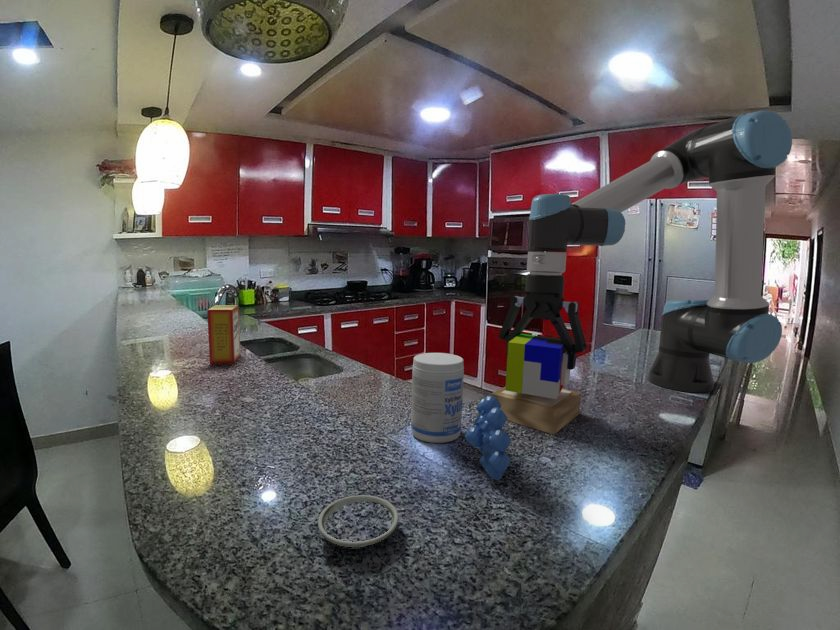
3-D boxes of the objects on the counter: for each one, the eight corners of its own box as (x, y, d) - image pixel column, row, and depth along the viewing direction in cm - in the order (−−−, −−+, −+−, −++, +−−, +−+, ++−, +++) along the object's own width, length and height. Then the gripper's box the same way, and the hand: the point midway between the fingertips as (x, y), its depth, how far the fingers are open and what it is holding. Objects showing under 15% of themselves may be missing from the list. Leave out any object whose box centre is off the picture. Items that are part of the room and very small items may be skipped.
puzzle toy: (556, 399, 82) (560, 348, 81) (505, 390, 87) (508, 342, 85) (564, 385, 91) (567, 339, 90) (517, 377, 96) (520, 333, 94)
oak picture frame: (579, 413, 93) (581, 391, 92) (554, 434, 82) (556, 409, 81) (519, 398, 101) (521, 377, 101) (489, 415, 91) (491, 392, 90)
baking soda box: (234, 362, 125) (231, 308, 122) (209, 363, 123) (207, 308, 121) (240, 354, 134) (238, 304, 131) (217, 355, 132) (215, 304, 130)
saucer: (393, 507, 58) (394, 491, 58) (402, 558, 49) (403, 539, 48) (320, 513, 56) (320, 496, 56) (315, 567, 47) (314, 547, 47)
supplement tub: (454, 449, 75) (458, 367, 73) (403, 440, 78) (405, 361, 75) (465, 427, 84) (469, 354, 82) (419, 420, 87) (421, 349, 85)
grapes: (454, 454, 73) (457, 386, 71) (493, 453, 74) (497, 386, 72) (472, 493, 61) (476, 413, 60) (517, 491, 62) (522, 412, 61)
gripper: (485, 270, 91) (480, 370, 95) (599, 278, 77) (588, 395, 80) (502, 269, 97) (497, 363, 101) (611, 276, 83) (600, 386, 86)
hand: (537, 378), depth 90 cm, fingers closed on puzzle toy, 11 cm apart
